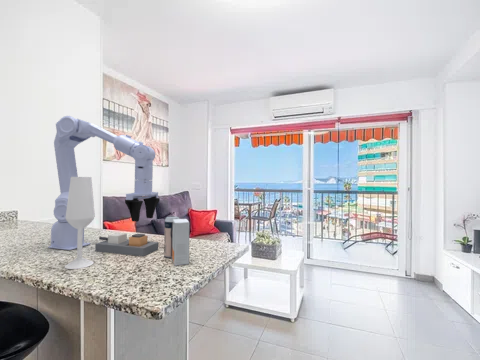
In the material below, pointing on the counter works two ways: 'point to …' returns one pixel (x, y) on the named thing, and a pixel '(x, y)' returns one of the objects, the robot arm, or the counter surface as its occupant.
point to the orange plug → (138, 240)
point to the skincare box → (180, 242)
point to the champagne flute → (80, 214)
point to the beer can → (168, 236)
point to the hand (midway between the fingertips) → (142, 219)
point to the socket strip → (124, 246)
